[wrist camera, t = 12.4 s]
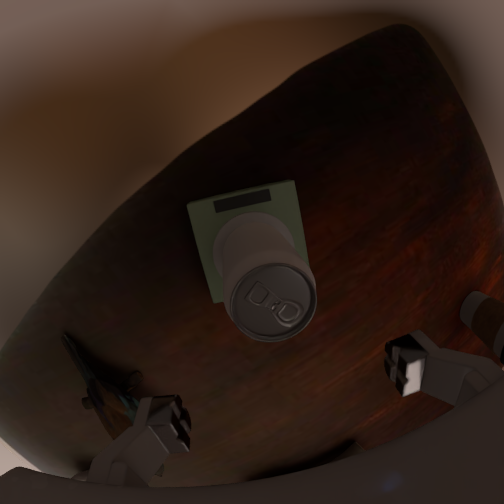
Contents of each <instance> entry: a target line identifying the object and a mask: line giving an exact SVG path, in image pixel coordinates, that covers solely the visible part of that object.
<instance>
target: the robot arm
mask: <svg viewBox="0 0 504 504" xmlns="http://www.w3.org/2000/svg"><path fill="white" fill-rule="evenodd" d="M385 352H386V353H387V356H386V357H385V359H384V367H385V371H386V374H387V376H388V377H389V379H390V380H392V381H394V382H396V385H395V387H396V389H397V390H398V391H399V393H400V394H401V396H402V397H404V396H407V395H409V394H412V393H414V392H416V391H418V390H421V391H423V392H425V393H427V394H429V395H432V396H434V397H436V398H438V399H441V400H443V401H445V402H447V403H450V404H452V405H454V406H455V407H454V409H452V410H451V411H449V412H447V413H445V414H444V415H442V416H440V417H438V418H436V419H435V420H433V421H431V422H429V423H427V424H425V425H423V426H421V427H419V428H417V429H415V430H413V431H411V432H409V433H407V434H405V435H402V436H400V437H398V438H396V439H393V440H391V441H389V442H386V443H384V444H382V445H379V446H377V447H374V448H372V449H369V450H366V451H364V452H361V453H358V454H356V455H353V456H350V457H347V458H344V459H341V460H338V461H334V462H331V463H328V464H324V465H321V466H317V467H314V468H310V469H306V470H302V471H298V472H294V473H289V474H285V475H280V476H275V477H270V478H265V479H259V480H253V481H246V482H239V483H231V484H222V485H211V486H196V487H149V486H148V485H147V484H148V482H149V481H150V480H151V478H152V477H153V476H154V474H155V473H156V472H157V470H158V469H159V468H160V466H161V465H162V464H163V462H164V461H165V460H166V458H167V457H168V456H169V453H180V452H189V449H190V437H189V436H188V433H189V432H190V431H191V419H190V415H189V413H188V411H187V409H186V408H185V407H183V406H182V400H181V398H180V396H179V395H177V394H175V395H165V396H154V397H143V398H142V399H141V400H140V402H139V406H138V409H137V413H136V416H135V420H134V423H133V426H131V427H128V428H127V429H126V430H125V431H124V432H123V433H122V434H121V435H120V436H118V437H117V438H116V439H115V440H114V441H113V442H112V443H111V444H109V445H108V446H107V447H106V448H105V449H104V450H103V451H102V452H100V453H99V454H98V455H97V456H96V457H95V458H93V460H92V463H91V466H90V469H89V472H88V476H87V479H86V481H81V480H75V479H69V478H64V477H59V476H55V475H50V474H46V473H42V472H38V471H35V470H31V469H28V468H24V467H15V468H14V469H11V470H9V471H8V472H6V473H5V474H3V475H2V476H0V504H504V371H503V370H502V369H501V368H500V367H499V366H498V365H497V364H495V363H494V362H493V361H492V360H491V359H490V358H485V357H481V356H476V355H472V354H467V353H463V352H459V351H454V350H450V349H446V348H442V349H440V348H439V347H438V346H437V345H436V344H434V343H433V342H432V341H431V340H430V339H429V338H428V337H427V336H426V335H425V334H424V333H423V332H422V331H421V330H418V329H417V330H415V331H413V332H411V333H408V334H406V335H404V336H401V337H399V338H396V339H394V340H391V341H389V342H386V345H385Z"/></svg>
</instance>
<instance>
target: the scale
mask: <svg viewBox="0 0 504 504" xmlns="http://www.w3.org/2000/svg"><path fill="white" fill-rule="evenodd" d="M187 209H188V213H189V217H190V221H191V225H192V229H193V232H194V236H195V240H196V244H197V247H198V251H199V255H200V258H201V262H202V265H203V269H204V272H205V276H206V279H207V283H208V286H209V290H210V293H211V297H212V300H213V303H218V302H223V301H224V300H223V249H224V245H225V242H226V240H227V238H228V237H229V235H230V234H231V233H232V232H233V231H234V230H235V229H237V228H238V227H240V226H242V225H244V224H247V223H251V222H261V223H265V224H268V225H270V226H272V227H274V228H275V229H277V230H278V231H279V232H280V233H281V234H282V235H283V236H284V238H285V239H286V240H287V241H288V242H289V243H290V244H291V246H292V247H293V248H294V249H295V250H296V251H297V253H298V254H299V255H300V256H301V257H302V259H303V260H304V261H305V262H306V264H307V265H308V267H309V261H308V255H307V249H306V243H305V237H304V231H303V225H302V220H301V214H300V209H299V203H298V198H297V193H296V188H295V183H294V181H293V180H284V181H279V182H274V183H269V184H264V185H260V186H255V187H251V188H246V189H242V190H237V191H233V192H229V193H224V194H220V195H216V196H212V197H208V198H204V199H200V200H196V201H192V202H189V203H188V204H187Z"/></svg>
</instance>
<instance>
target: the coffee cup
mask: <svg viewBox="0 0 504 504" xmlns="http://www.w3.org/2000/svg"><path fill="white" fill-rule="evenodd" d="M460 319H461V320H462V322H463V323H465V324H466V325H467V326H468V327H469V328H470V329H471V330H472V331H473V332H474V333H475V334H476V335H477V336H478V337H479V338H480V339H481V340H482V341H483V342H484V344H485V345H486V346H487V347H488V348H489V349H490V350H491V351H492V352H493V353H494V354H496V355H498V356H499V357H500V361H501V363H502V364H503V365H504V303H503V302H501V301H499V300H496V299H494V298H492V297H489V296H487V295H485V294H483V293H481V292H479V291H473V292H471V293H470V294H469V295H468V296H467V297H466V298H465V300H464V302H463V304H462V306H461V309H460Z"/></svg>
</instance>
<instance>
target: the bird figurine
mask: <svg viewBox="0 0 504 504" xmlns="http://www.w3.org/2000/svg"><path fill="white" fill-rule="evenodd" d="M61 341H62V342H63V345H64V346H65V348H66V350H67V352H68V353H69V355H70V357H71V358H72V360H73V362H74V363H75V365H76V367H77V368H78V370H79V372H80V373H81V375H82V377H83V378H84V380H85V382H86V384H87V386H88V388H87V394H88V396H89V397H85V398H82V404H83V406H84V408H85V409H92V408H94V409H95V411H96V413H97V415H98V417H99V419H100V420H101V422H102V424H103V425H104V427H105V429H106V430H107V432H108V433H109V435H110V436H111V437H112V438H113V440H115V439H116V438H117V437H118V436H120V435H121V434H122V433H123V432H124V431H125V430H126V429H127V428H128V427H131V426H133V423H134V420H135V416H136V413H137V409H138V406H139V401H138V400H137V399H135V398H134V397H133V396H132V395H130V394H129V391H130V390H131V389H133V388H135V387H136V386H137V385H138V383H139V382H140V381H142V380H143V376H142V375H141V373H139V372H138V371H137V372H135V373H134V374H132V375H131V376H129V377H128V378H127V379H126V380H125V381H123V382H122V383H121V384H118V383H116V382H115V380H113V379H112V378H111V377H109V376H108V375H106V374H105V373H103V372H102V371H101V370H99V369H98V368H97V367H96V366H94V365H93V364H91V363H90V362H88V361H87V360H86V359H85V358H84V357H83V356H81V355H80V353H79V352H78V351H77V349H76V346H75V344H74V342H73V341H72V340H71V339H70V338H69V337H67V336H66V335H63V336H62V337H61ZM163 471H164V465H163V464H162V465H161V466H160V468H159V469H158V470H157V472H156V473H155V474H154V475H158V476H159V477H162V475H161V474H163Z"/></svg>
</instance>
